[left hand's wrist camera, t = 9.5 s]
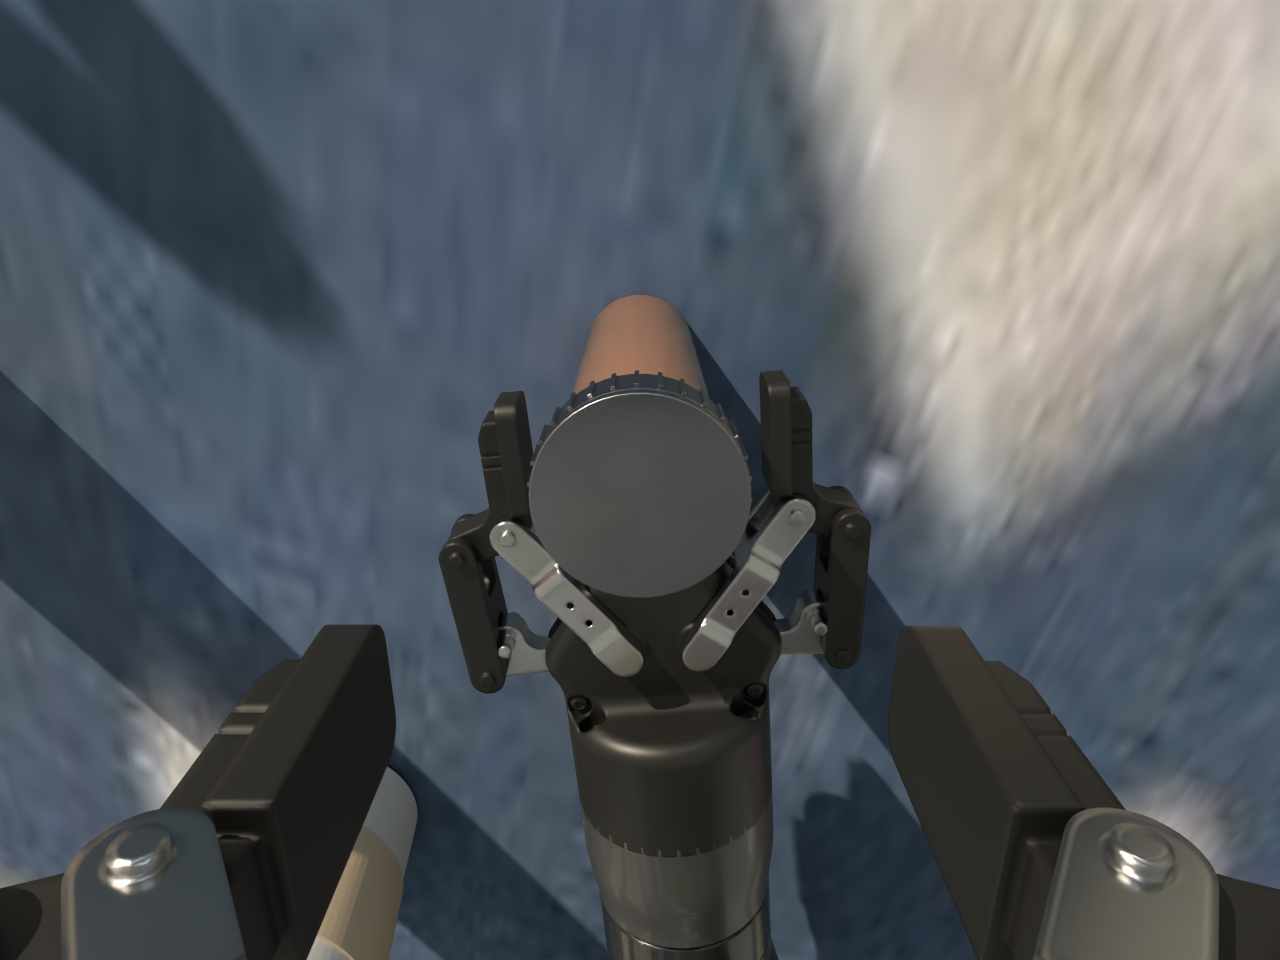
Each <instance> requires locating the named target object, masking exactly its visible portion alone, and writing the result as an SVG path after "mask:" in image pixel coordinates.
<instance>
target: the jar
mask: <svg viewBox="0 0 1280 960" xmlns="http://www.w3.org/2000/svg"><path fill="white" fill-rule="evenodd" d="M635 370H639V374H653V375H657V373H658V372H662V374H663V376H665V377H669V378H673V379H675V380H678V381H679V379H680V378H682V379H684V380H685V383H686V384H688V385H689V386H691V387H693V388H695V389H697V390H698V391H699V390H700V388H701V389H703V390H704V391H705V395H706V396H707V397H708V398H709V399H710V396H709V392H708V389H707V386H706V382H705V379H704V375H703V372H702V369H701V365H700V362H699V358H698V355H697V352H696V348H695V345H694V341H693V338H692V335H691V331H690V329H689V326H688V324H687V322H686V321H685V319H684V317H683V316H682V315H681V313H680V312H679V311H678V310H677V309H676V308H675V307H673V306H672V305H671V304H669V303H667V302H666V301H664V300H662V299H659V298H657V297H653V296H648V295H632V296H627V297H624V298H621V299H618V300H616V301H614V302H613V303H611V304H609V305H608V306H607V307H606V308H604V309H603V310H602V311H601V312H600V313H599V315H598V316H597V317H596V319H595V320H594V322H593V324H592V326H591V329H590V331H589V335H588V338H587V341H586V345H585V348H584V352H583V355H582V358H581V362H580V365H579V369H578V372H577V375H576V379H575V382H574V386H573V389H572V392H571V394H572V393H573V392H575V393H576V394H577V393H579V392H580V391H582V390H583V389H585V388H587V387H589V384H590V382H591V381H593V380H594V381H595V383H597V382H599V381H602V380H604V379H608V378H611V375H612V374H613V373H616V375H617V376H620V375H627V374H634V372H635ZM710 400H711V399H710Z"/></svg>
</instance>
